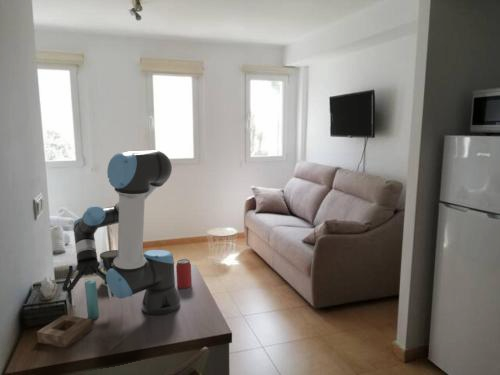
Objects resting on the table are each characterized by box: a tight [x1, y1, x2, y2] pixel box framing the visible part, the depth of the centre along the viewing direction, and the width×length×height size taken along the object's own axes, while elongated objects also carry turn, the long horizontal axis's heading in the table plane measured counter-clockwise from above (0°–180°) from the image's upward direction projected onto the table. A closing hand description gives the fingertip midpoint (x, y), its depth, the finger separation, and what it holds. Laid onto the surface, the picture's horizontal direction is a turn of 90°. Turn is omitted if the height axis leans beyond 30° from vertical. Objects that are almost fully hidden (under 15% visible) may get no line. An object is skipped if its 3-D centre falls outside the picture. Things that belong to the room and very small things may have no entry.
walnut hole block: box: [36, 314, 92, 349], centre depth 131 cm, size 12×12×4 cm
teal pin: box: [84, 279, 100, 320], centre depth 143 cm, size 4×4×14 cm
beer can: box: [175, 258, 193, 290], centre depth 170 cm, size 7×7×12 cm
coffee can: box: [99, 249, 118, 287], centre depth 175 cm, size 10×10×14 cm
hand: (92, 303), depth 141 cm, fingers open, 12 cm apart
